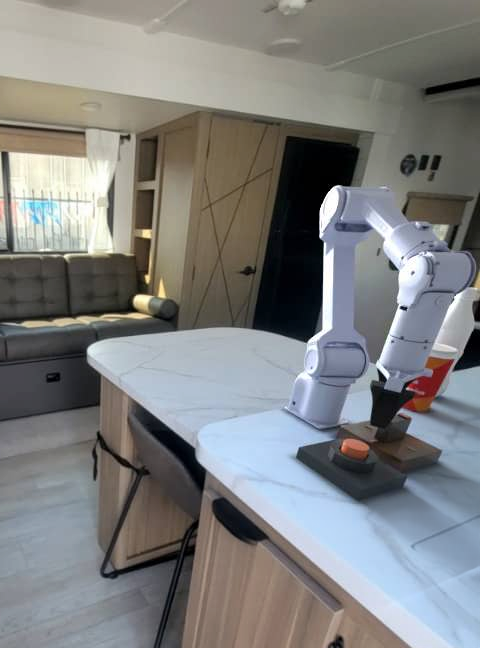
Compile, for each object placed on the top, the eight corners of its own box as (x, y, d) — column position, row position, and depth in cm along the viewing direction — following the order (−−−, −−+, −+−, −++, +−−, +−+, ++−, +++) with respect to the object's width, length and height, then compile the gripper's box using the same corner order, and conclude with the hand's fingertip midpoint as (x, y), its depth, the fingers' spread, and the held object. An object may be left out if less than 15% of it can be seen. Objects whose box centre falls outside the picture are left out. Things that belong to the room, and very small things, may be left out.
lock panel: (336, 437, 77) (340, 425, 76) (373, 429, 80) (377, 417, 79) (397, 473, 67) (403, 460, 66) (437, 462, 70) (443, 449, 69)
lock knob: (384, 442, 71) (393, 421, 69) (374, 436, 73) (382, 416, 71) (404, 438, 73) (412, 417, 71) (393, 432, 74) (401, 412, 73)
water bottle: (432, 402, 93) (481, 292, 82) (399, 390, 99) (441, 285, 88) (448, 396, 96) (497, 290, 85) (416, 385, 102) (458, 284, 91)
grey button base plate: (295, 457, 70) (301, 438, 69) (337, 448, 74) (344, 429, 72) (357, 501, 60) (365, 479, 59) (402, 487, 64) (412, 466, 62)
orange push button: (335, 449, 66) (338, 440, 66) (351, 446, 68) (354, 437, 67) (355, 461, 63) (358, 452, 63) (371, 457, 65) (375, 448, 64)
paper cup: (385, 397, 95) (407, 339, 89) (420, 400, 94) (445, 342, 88) (403, 412, 88) (428, 351, 82) (441, 415, 87) (470, 354, 81)
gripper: (445, 355, 53) (407, 444, 59) (444, 332, 63) (412, 409, 69) (382, 343, 57) (352, 428, 62) (391, 324, 67) (365, 398, 73)
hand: (380, 417), depth 66 cm, fingers open, 7 cm apart
